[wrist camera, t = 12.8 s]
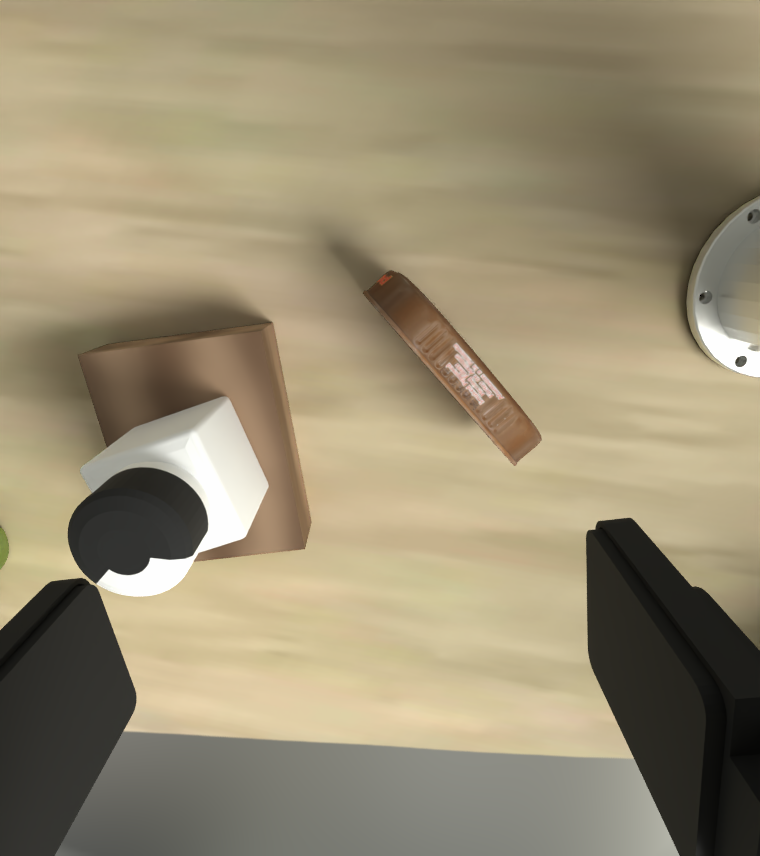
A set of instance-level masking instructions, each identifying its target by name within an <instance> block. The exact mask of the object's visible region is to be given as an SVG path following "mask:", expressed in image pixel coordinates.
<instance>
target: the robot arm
mask: <svg viewBox="0 0 760 856" xmlns="http://www.w3.org/2000/svg"><path fill="white" fill-rule="evenodd" d="M747 217H748V219H747ZM700 294H701V298H700V299H699V297H700ZM686 304H687V316H688V321H689V325H690V328H691V331H692V334H693V336H694V338H695V340H696V341H697V343H698V345H699V347H700V348H701V349H702V350H703V351H704V353H705V354H706V355H707V356H708V357H709V358H710V359H711V360H713V361H714V362H716V363H717V364H719V365H720V366H722V367H723V368H726V369H729V370H731V371H733V372H736V373H739V374H743V375H747V376H750V377H759V378H760V196H758V197H756V198H754V199H752V200H751V201H749V202H747V203H745V204H743V205H742V206H741V207H740V208H738V209H737V210H736V211H734V212H733V213H732V214H730V215H729V216H728V217H727V218H726V219H725V220H724V221H723V222H722V223H721V224H720V225H719V226H718V227H717V228H716V230H715V231H714V232H713V233H712V235H711V236H710V237H709V239H708V240H707V242H706V243H705V245H704V246H703V248H702V249H701V251H700V253H699V256H698V258H697V260H696V262H695V264H694V266H693V269H692V273H691V276H690V280H689V283H688V291H687V300H686ZM586 556H587V622H588V654H589V659H590V663H591V666H592V669H593V672H594V674H595V676H596V678H597V680H598V682H599V684H600V687H601V689H602V691H603V693H604V695H605V697H606V699H607V701H608V704H609V706H610V708H611V710H612V712H613V714H614V716H615V719H616V721H617V723H618V725H619V727H620V729H621V731H622V733H623V736H624V738H625V740H626V742H627V744H628V746H629V748H630V751H631V753H632V755H633V757H634V759H635V761H636V763H637V765H638V767H639V770H640V772H641V774H642V776H643V778H644V780H645V782H646V785H647V787H648V789H649V791H650V793H651V795H652V797H653V799H654V802H655V804H656V806H657V808H658V810H659V812H660V814H661V816H662V819H663V821H664V823H665V825H666V827H667V829H668V832H669V834H670V836H671V838H672V840H673V842H674V844H675V846H676V849H677V851H678V853H679V855H680V856H760V651H759V650H758V648H757V647H756V646H755V645H754V644H753V643H752V642H751V641H750V640H749V638H748V637H747V636H746V635H745V634H744V633H743V632H742V631H741V630H740V628H739V627H738V626H737V625H736V624H735V623H734V622H733V621H732V620H731V618H730V617H729V616H728V615H727V614H726V613H725V612H724V611H723V610H722V608H721V607H720V606H719V605H718V604H717V603H716V602H715V601H714V600H713V598H712V597H711V596H710V595H709V594H708V593H707V592H706V591H704V590H703V589H702V588H699V587H692V586H691V585H690V584H689V583H688V582H687V581H686V579H685V578H684V577H683V576H682V575H681V574H680V573H679V571H678V570H677V569H676V568H675V567H674V566H673V564H672V563H671V562H670V561H669V560H668V559H667V558H666V556H665V555H664V554H663V553H662V552H661V551H660V550H659V548H658V547H657V546H656V545H655V544H654V543H653V542H652V540H651V539H650V538H649V537H648V536H647V535H646V533H645V532H644V531H643V530H642V529H641V528H640V527H639V525H638V524H637V523H636V522H635V521H634V520H633V519H632V518H624V519H615V520H605V521H598V522H597V524H596V530H588V532H587V535H586ZM135 706H136V692H135V688H134V686H133V683H132V680H131V677H130V675H129V672H128V669H127V667H126V664H125V661H124V658H123V656H122V653H121V650H120V648H119V645H118V642H117V639H116V637H115V634H114V631H113V629H112V626H111V623H110V620H109V618H108V615H107V612H106V610H105V607H104V604H103V601H102V599H101V596H100V593H99V591H98V589H97V587H95V586H94V585H90V583H89V582H88V581H87V580H86V579H83V578H77V579H68V580H59V581H52V582H50V583H48V584H47V585H46V586H45V587H44V588H43V589H42V590H41V591H40V592H39V593H38V594H37V595H36V596H35V597H34V598H33V599H32V600H30V601H29V602H28V603H27V604H26V605H25V606H24V607H23V608H22V609H21V610H20V611H19V612H18V613H17V614H16V615H15V616H14V617H13V618H12V619H11V620H10V621H9V622H8V623H7V624H6V625H5V626H4V627H3V628H2V629H1V630H0V856H55V854H56V852H57V850H58V848H59V846H60V845H61V843H62V841H63V839H64V837H65V835H66V834H67V832H68V830H69V828H70V827H71V825H72V823H73V821H74V819H75V817H76V815H77V814H78V812H79V810H80V808H81V807H82V805H83V803H84V801H85V799H86V798H87V796H88V794H89V792H90V790H91V788H92V787H93V785H94V783H95V781H96V779H97V778H98V776H99V774H100V772H101V770H102V769H103V767H104V765H105V763H106V761H107V759H108V758H109V756H110V754H111V752H112V750H113V749H114V747H115V745H116V743H117V741H118V740H119V738H120V736H121V734H122V732H123V731H124V729H125V727H126V725H127V723H128V721H129V720H130V718H131V716H132V714H133V712H134V710H135Z"/></svg>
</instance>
